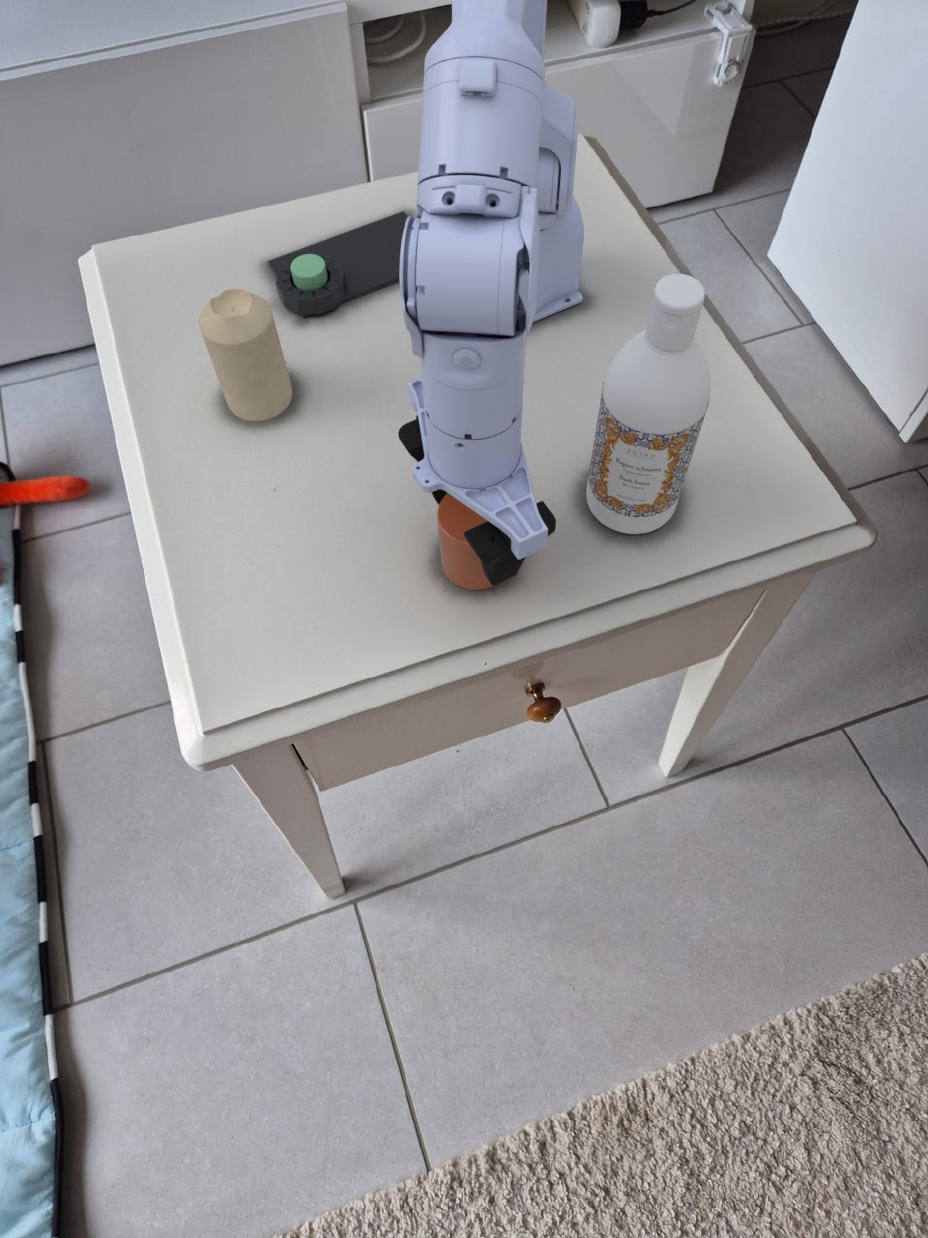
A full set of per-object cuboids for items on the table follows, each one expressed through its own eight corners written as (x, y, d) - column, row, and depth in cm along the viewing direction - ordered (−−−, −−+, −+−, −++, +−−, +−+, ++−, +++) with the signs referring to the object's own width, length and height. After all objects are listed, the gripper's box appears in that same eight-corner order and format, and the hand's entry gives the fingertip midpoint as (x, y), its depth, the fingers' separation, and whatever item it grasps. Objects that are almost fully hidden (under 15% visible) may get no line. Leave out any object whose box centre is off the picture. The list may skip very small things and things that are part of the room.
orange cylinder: (489, 521, 68) (489, 471, 63) (524, 571, 66) (527, 524, 61) (428, 549, 67) (424, 501, 62) (462, 601, 65) (460, 556, 60)
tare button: (319, 263, 80) (316, 249, 79) (333, 284, 79) (330, 269, 77) (288, 275, 79) (284, 260, 78) (301, 296, 78) (298, 281, 77)
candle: (282, 426, 73) (254, 333, 65) (218, 417, 74) (182, 323, 65) (301, 377, 76) (277, 280, 67) (239, 368, 77) (207, 272, 68)
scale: (404, 215, 86) (402, 195, 84) (447, 270, 82) (446, 249, 80) (259, 269, 83) (253, 249, 81) (297, 328, 79) (292, 308, 77)
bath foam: (575, 524, 68) (606, 318, 50) (596, 455, 71) (633, 239, 54) (666, 547, 67) (730, 343, 49) (683, 475, 70) (749, 261, 53)
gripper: (357, 348, 54) (380, 487, 66) (473, 519, 48) (475, 639, 60) (459, 307, 56) (464, 450, 68) (585, 467, 49) (566, 594, 61)
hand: (475, 536), depth 64 cm, fingers open, 7 cm apart
